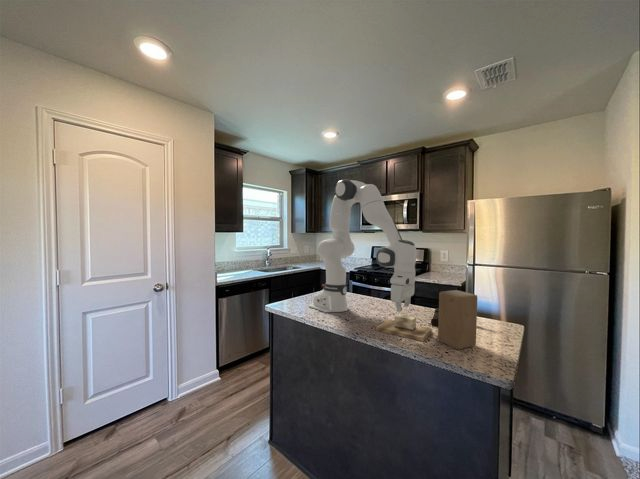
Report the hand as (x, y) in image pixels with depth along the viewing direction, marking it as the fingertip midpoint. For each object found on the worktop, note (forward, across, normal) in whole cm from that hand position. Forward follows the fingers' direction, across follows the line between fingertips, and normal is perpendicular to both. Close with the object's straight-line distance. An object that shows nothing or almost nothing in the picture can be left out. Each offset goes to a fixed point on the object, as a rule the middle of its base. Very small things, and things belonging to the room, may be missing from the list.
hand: (402, 308), depth 119 cm
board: (+10, 0, +1) cm, 10 cm away
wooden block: (+9, 0, +22) cm, 24 cm away
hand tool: (+10, -24, +8) cm, 28 cm away
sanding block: (+8, 0, +1) cm, 8 cm away
